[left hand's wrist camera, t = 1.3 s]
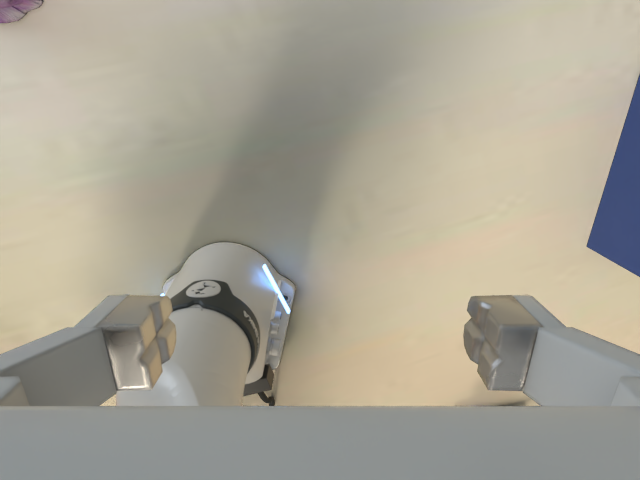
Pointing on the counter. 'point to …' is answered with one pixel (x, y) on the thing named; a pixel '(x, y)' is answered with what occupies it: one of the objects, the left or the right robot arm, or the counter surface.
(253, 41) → the counter surface
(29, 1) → the figurine
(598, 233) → the box
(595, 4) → the counter surface
